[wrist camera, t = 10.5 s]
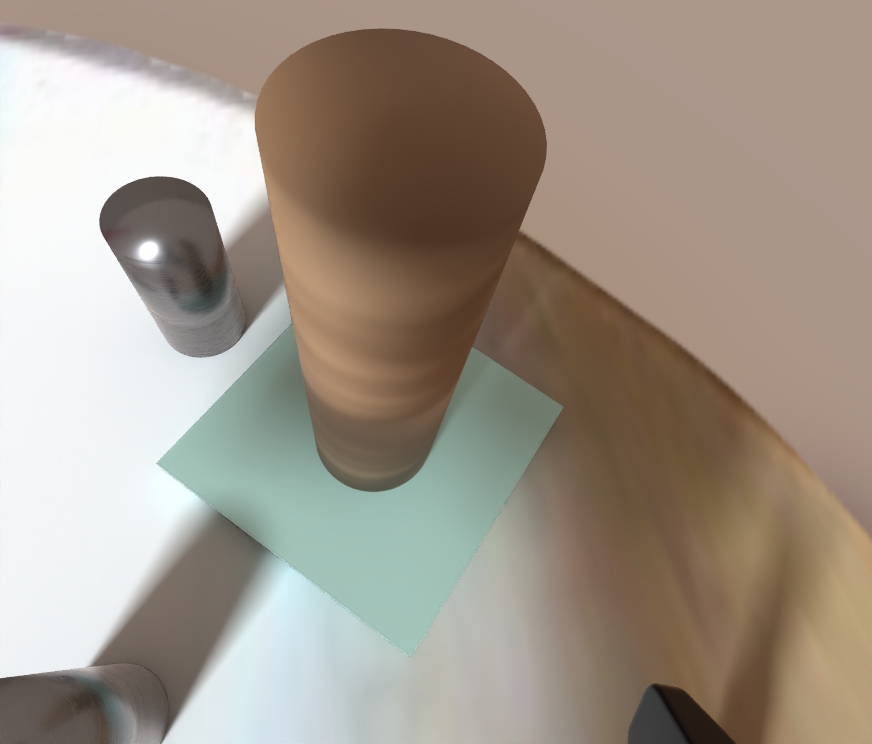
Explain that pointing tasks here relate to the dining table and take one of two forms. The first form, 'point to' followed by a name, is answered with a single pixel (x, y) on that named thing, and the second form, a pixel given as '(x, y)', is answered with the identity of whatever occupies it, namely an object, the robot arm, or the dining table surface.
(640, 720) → the robot arm
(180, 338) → the post near pad
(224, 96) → the dining table surface
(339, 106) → the walnut dowel
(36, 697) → the post farther from pad
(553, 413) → the teal pad
